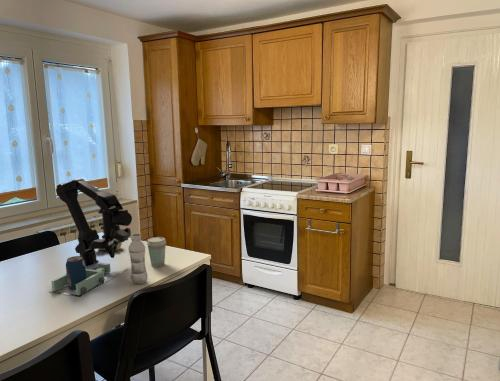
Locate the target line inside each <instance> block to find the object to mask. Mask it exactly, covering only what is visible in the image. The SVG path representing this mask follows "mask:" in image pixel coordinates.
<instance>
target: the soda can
mask: <svg viewBox="0 0 500 381" xmlns="http://www.w3.org/2000/svg"><path fill="white" fill-rule="evenodd" d="M86 269H87V268H86V266H85V261H84V259H83V257H82V256H80V255H76V256H70V257H68V258H67V259H66V262H65V270H66V273H65V274H67V283H68V284H67V287H68V289H70V291H76V285H75V284H77V283H79V282H81V281H83V280H85V279H87V278H86Z"/></svg>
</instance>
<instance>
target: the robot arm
mask: <svg viewBox="0 0 500 381" xmlns="http://www.w3.org/2000/svg"><path fill="white" fill-rule="evenodd" d="M55 192H56V194H57V196H58V198H59V199H60V201H62V202H64V204H66V206H67V208H68V211H69V213H70V215H71V218H72V220H73V222H74V224H75V227H76V228H77V232H78V237H77V241H78V244H77V245H76V246H75V248H74V250H75V252H76V254H79V256H82V257H83V259H84V261H85V267H91V266H93V265H94V264H98V262H99V260H97V254H96V250H99V249H104V248H105V250H106V252H107V254H108V256H109V257H110V258H112V259H114V258H115V257H116V256H115V255H116V253H117V251H116V249H117V246H118V244H119V243H120V242H122V243H124V242H126V241H129V238H131V235H132V232H131V228H129V227H128V226H130V225H131V224H132V220H133V216H132V214H131V213H130V212H129V210H128V209H124V208H123V205H122V204H121V203H120V201H119V200H118V197H117V196H116V195H115V194H113V193H110V192H107V191H102V190H100V189H98V188H97V187H95V186H94V185H92V184H90V183H89V182H87V181H86V180H85V179H84V178H80V177H79V178H75V179H73V180H71V181H68V182H65V183H59V184H57V186H56V188H55ZM79 192H80V193H82V194H83V195H86V196H87V197H89V198H91V199H92V200H93V201H94V202H95V204H96V206H98V207H99V208H100V210H98V211H97V213H98V214H101V216H102V217H101V218H102V226H100V229H101V230H103V234H102V235H101V238H100V235H99V234H98V231H97V230H96V229H92V228H91V227H90V226H89V223H88V220H87V218H86V216H85V214H84V211H83V209H82V206H81V205H80V202H79V200H78V197H79ZM120 226H125V227H126V228H122V229H121V227H120ZM103 238H104V239H103ZM98 248H99V249H98ZM99 263H100V262H99Z"/></svg>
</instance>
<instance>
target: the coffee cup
mask: <svg viewBox="0 0 500 381" xmlns="http://www.w3.org/2000/svg"><path fill="white" fill-rule="evenodd" d="M146 243H147V244H146V245H147V249H148V255H149V260H150V265H151V267H153V268H161V267H163V266H165V263H166V262H165V261H166V244H167V240H166V238H165V237H162V236H156V237H155V236H154V237H150V238H148V239H147V242H146Z"/></svg>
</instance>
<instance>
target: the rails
mask: <svg viewBox="0 0 500 381" xmlns="http://www.w3.org/2000/svg"><path fill="white" fill-rule="evenodd" d="M96 269H98V266H97V267H95V268H93V269H92V270H96ZM126 271H128V268H125V269H123V270H121V271H120V272H118V273H116V274H115V275H112V276H111V277H110V278H107V279H106V280H104V282H103V283H99V284H97V285H96V286H94V287H92V288H90V289H89V290H87V291H86V293H82V294H80V295H76V294H73V293H67V292H59V291H57V290H56V291H52V290H50V291H49V293H52V294H58V295H62V296H70V297H75V298H81V297H83V296H84V295H86V294H88V293H91V291H93V290H95V289H96V288H98V287H100V286H102V285H104V284H106V283H107V282H109V281H111V280H113V279H114V278H116V277H117V276H119V275H121V274H123V273H124V272H126Z"/></svg>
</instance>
